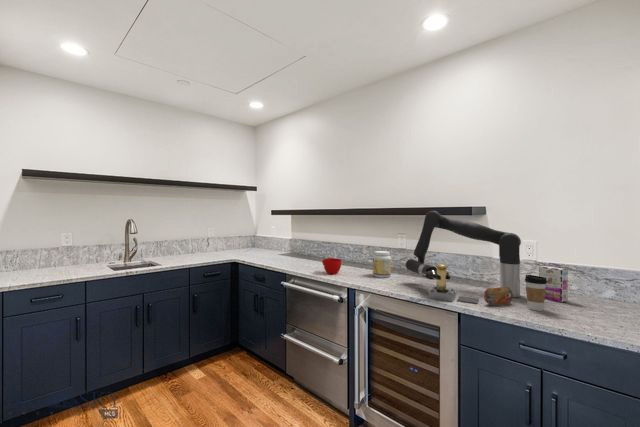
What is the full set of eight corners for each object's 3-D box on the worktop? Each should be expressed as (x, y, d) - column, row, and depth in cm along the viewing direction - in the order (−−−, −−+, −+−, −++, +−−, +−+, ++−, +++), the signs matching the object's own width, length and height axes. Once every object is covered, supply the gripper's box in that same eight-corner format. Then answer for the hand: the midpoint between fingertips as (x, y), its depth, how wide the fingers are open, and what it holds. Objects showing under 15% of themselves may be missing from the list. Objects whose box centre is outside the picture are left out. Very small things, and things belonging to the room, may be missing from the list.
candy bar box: (568, 301, 154) (568, 269, 154) (561, 302, 152) (561, 269, 152) (544, 296, 164) (545, 265, 164) (538, 297, 162) (538, 265, 162)
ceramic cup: (329, 270, 233) (329, 257, 233) (345, 273, 220) (345, 259, 220) (316, 272, 224) (316, 258, 224) (331, 276, 211) (331, 261, 211)
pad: (478, 299, 156) (478, 298, 156) (477, 304, 149) (477, 302, 149) (459, 297, 161) (459, 295, 161) (457, 301, 153) (457, 300, 153)
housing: (455, 296, 162) (455, 288, 162) (452, 301, 153) (452, 293, 153) (433, 293, 168) (433, 286, 168) (429, 298, 158) (429, 290, 158)
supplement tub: (369, 275, 216) (369, 251, 216) (385, 274, 220) (385, 250, 220) (378, 278, 205) (378, 253, 205) (394, 277, 208) (394, 252, 208)
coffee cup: (525, 304, 148) (525, 273, 148) (547, 308, 143) (547, 276, 143) (523, 309, 142) (523, 276, 141) (546, 312, 136) (546, 279, 136)
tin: (487, 306, 145) (487, 288, 145) (482, 304, 148) (482, 287, 148) (513, 304, 149) (513, 286, 149) (507, 302, 153) (507, 285, 152)
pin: (448, 295, 161) (448, 264, 161) (446, 298, 156) (446, 266, 156) (436, 293, 164) (436, 263, 164) (434, 296, 159) (434, 265, 159)
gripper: (415, 264, 173) (431, 270, 156) (439, 264, 175) (457, 270, 158) (415, 278, 173) (431, 285, 156) (439, 277, 175) (457, 284, 158)
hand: (444, 277), depth 157 cm, fingers closed on pin, 4 cm apart
